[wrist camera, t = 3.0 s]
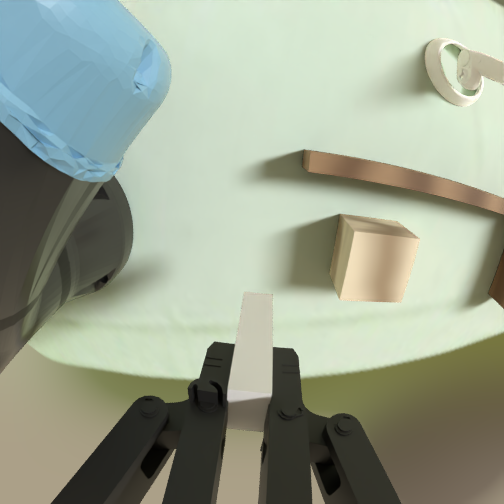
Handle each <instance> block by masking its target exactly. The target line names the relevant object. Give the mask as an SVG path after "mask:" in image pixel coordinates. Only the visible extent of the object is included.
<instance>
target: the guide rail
mask: <svg viewBox="0 0 504 504" xmlns="http://www.w3.org/2000/svg"><path fill="white" fill-rule="evenodd" d="M302 167H303V168H304V169H305V170H307V171H308V172H313V173H320V174H327V175H334V176H341V177H347V178H353V179H359V180H365V181H371V182H376V183H382V184H387V185H392V186H397V187H402V188H406V189H411V190H415V191H420V192H424V193H429V194H433V195H437V196H441V197H445V198H449V199H453V200H456V201H460V202H464V203H467V204H471V205H474V206H478V207H481V208H485V209H488V210H491V211H494V212H497V213H501V214H504V198H502V197H499V196H496V195H494V194H491V193H488V192H485V191H482V190H480V189H477V188H474V187H471V186H468V185H464V184H461V183H458V182H455V181H452V180H448V179H445V178H441V177H438V176H434V175H431V174H427V173H423V172H419V171H415V170H411V169H407V168H403V167H399V166H394V165H390V164H385V163H381V162H376V161H371V160H366V159H361V158H355V157H350V156H344V155H338V154H331V153H325V152H318V151H311V150H304V153H303V162H302ZM488 294H489V295H490V296H491V297H492V298H493V299H494V300H495V301H496V302H497V303H498V304H499V305H500V306H501V307H502V308H503V309H504V251H503V254H502V257H501V260H500V263H499V266H498V269H497V272H496V274H495V277H494V280H493V282H492V285H491V287H490V290H489V292H488Z"/></svg>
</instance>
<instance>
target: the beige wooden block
mask: <svg viewBox="0 0 504 504" xmlns="http://www.w3.org/2000/svg"><path fill="white" fill-rule="evenodd" d="M419 241H420V239H419V238H418V237H417V236H415V235H414V234H413V233H412V232H410V231H409V230H408V229H407V228H405V227H404V226H403V225H401V224H400V223H399V222H397V221H392V220H384V219H377V218H369V217H361V216H353V215H345V214H340V215H339V222H338V228H337V234H336V240H335V245H334V251H333V256H332V261H331V267H330V272H329V274H330V277H331V279H332V282H333V284H334V287H335V290H336V292H337V295H338V297H339V300H347V301H371V302H401V301H402V298H403V295H404V292H405V289H406V286H407V283H408V280H409V277H410V274H411V270H412V267H413V263H414V260H415V256H416V253H417V249H418V245H419Z"/></svg>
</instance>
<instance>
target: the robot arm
mask: <svg viewBox="0 0 504 504" xmlns="http://www.w3.org/2000/svg"><path fill="white" fill-rule="evenodd" d="M170 83H171V64H170V61H169V57H168V55H167V53H166V51H165V50H164V49H163V47H162V46H161V45H160V43H159V42H158V41H157V40H156V39H155V38H154V37H153V35H152V34H151V33H150V32H149V31H148V30H147V29H146V28H145V27H144V26H143V25H142V24H141V23H140V22H139V21H138V20H137V19H136V18H135V17H134V16H133V15H132V14H131V13H130V12H129V11H128V10H127V9H126V8H125V7H124V6H123V5H122V4H121V3H120V2H119V1H118V0H0V373H1V372H2V371H3V370H4V369H5V367H6V366H7V365H8V364H9V362H10V361H11V360H12V359H13V358H14V357H15V355H16V354H17V353H18V352H19V351H20V349H22V347H23V346H24V345H25V344H26V343H27V342H28V341H29V340H30V338H31V337H32V336H33V335H34V334H35V333H36V332H37V331H38V330H39V329H40V328H41V327H42V326H43V324H44V323H45V322H46V321H47V320H48V319H49V318H50V317H51V316H52V315H53V314H54V313H55V312H56V311H57V310H58V309H59V308H60V307H61V306H62V305H63V304H64V303H65V302H68V301H70V300H73V299H76V298H79V297H81V296H84V295H87V294H90V293H92V292H95V291H98V290H100V289H102V288H103V287H105V286H106V285H108V284H109V283H110V282H111V281H112V280H113V279H114V278H115V277H116V276H117V275H118V274H119V273H120V272H121V270H122V269H123V268H124V266H125V264H126V263H127V261H128V258H129V255H130V252H131V248H132V242H133V222H132V215H131V211H130V207H129V204H128V201H127V198H126V196H125V193H124V191H123V189H122V187H121V186H120V184H119V182H118V181H117V179H116V178H115V177H114V175H115V173H116V172H117V170H118V169H119V168H120V167H121V165H122V162H123V156H124V153H125V152H126V150H127V149H128V147H129V146H130V145H131V143H132V142H133V140H134V139H135V138H136V136H137V135H138V134H139V132H140V131H141V130H142V128H143V127H144V126H145V124H146V123H147V122H148V120H149V119H150V118H151V117H152V115H153V114H154V113H155V112H156V110H157V109H158V108H159V107H160V105H161V104H162V102H163V101H164V99H165V97H166V95H167V93H168V90H169V87H170ZM188 395H189V399H188V400H185V401H182V402H176V403H165V402H164V401H163V400H161V399H160V398H159V397H155V396H144V397H141V398H139V399H137V400H136V401H135V402H134V403H133V404H132V406H131V407H130V408H129V409H128V410H127V412H126V413H125V414H124V415H123V417H122V418H121V419H120V420H119V421H118V423H117V424H116V425H115V426H114V427H113V429H112V430H111V431H110V432H109V434H108V435H107V436H106V437H105V439H104V440H103V441H102V442H101V443H100V445H99V446H98V447H97V448H96V449H95V451H94V452H93V453H92V454H91V456H90V457H89V458H88V459H87V460H86V462H85V463H84V464H83V465H82V466H81V468H80V469H79V470H78V471H77V473H76V474H75V475H74V476H73V477H72V479H71V480H70V481H69V482H68V483H67V485H66V486H65V487H64V488H63V489H62V491H61V492H60V493H59V494H58V496H57V497H56V498H55V499H54V500H53V502H52V503H51V504H140V502H141V501H142V499H143V498H144V496H145V494H146V493H147V492H148V490H149V489H150V487H151V485H152V484H153V482H154V481H155V479H156V478H157V476H158V475H159V473H160V471H161V470H162V468H163V467H164V465H165V464H166V462H167V460H168V459H169V457H170V456H171V454H172V452H173V451H174V449H176V453H175V456H174V460H173V464H172V468H171V471H170V475H169V479H168V483H167V487H166V491H165V494H164V498H163V502H162V504H216V500H217V493H218V487H219V480H220V473H221V467H222V459H223V453H224V446H225V437H226V435H225V434H226V428H228V429H237V430H247V431H259V432H263V431H264V438H263V442H262V446H261V450H260V451H262V453H261V471H260V485H259V500H258V504H312V487H311V469H310V468H311V467H310V464H311V466H312V469H313V472H314V475H315V477H316V480H317V483H318V486H319V488H320V491H321V494H322V496H323V499H324V502H325V504H401V502H400V500H399V498H398V496H397V494H396V492H395V490H394V488H393V486H392V484H391V482H390V480H389V478H388V476H387V474H386V472H385V470H384V468H383V466H382V464H381V462H380V460H379V458H378V457H377V455H376V453H375V451H374V449H373V447H372V445H371V443H370V441H369V439H368V437H367V436H366V434H365V432H364V430H363V428H362V426H361V424H360V422H359V421H358V420H357V419H356V418H355V417H353V416H352V415H349V414H345V413H341V414H336V415H334V416H332V417H331V418H327V417H323V416H319V415H316V414H313V413H312V412H310V411H309V410H308V409H307V408H306V407H305V406H304V404H303V401H302V393H301V380H300V369H299V358H298V355H297V354H296V352H295V351H294V349H292V348H278V347H273V294H262V293H252V292H244V296H243V302H242V307H241V313H240V319H239V325H238V331H237V337H236V342H235V344H229V343H221V342H214V343H213V344H212V345H211V346H210V347H209V348H208V349H207V353H206V356H205V360H204V364H203V367H202V371H201V374H200V378H199V379H196V380H194V381H193V382H191V383H190V385H189V387H188Z"/></svg>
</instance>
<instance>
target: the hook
mask: <svg viewBox="0 0 504 504" xmlns="http://www.w3.org/2000/svg"><path fill="white" fill-rule="evenodd" d="M448 44H453V45H455V46H457V47H458V48H459V49H460V50H461V52H460V54H459V56H458V60H457V80H458V82H459V83H460V84H461V85H462V86H463V87H464V88H465V89H468V90H475V89H477V90H476V93H475V95H474V96H465V95H463V94H461V93H459V92H458V91H456V90H455V89H454V88H453V87H452V85H451V84H450V83H449V81H448V80H447V78H446V76H445V74H444V72H443V69H442V66H441V52H442V49H443V48H444V47H445V46H446V45H448ZM425 65H426V70H427V72H428V75H429V78H430V80H431V82H432V83H433V85H434V87H435V88H436V90H437V91H438V92H439V93H440V94H441V95H442V96H443V97H444V98H445V99H446V100H447V101H449V102H450V103H452V104H454V105H457V106H461V107H465V106H469V105H471V104H473V103H474V102H475V101H476V100H477V99H478V98H479V96H480V95H481V93H482V91H483V86H484V78H483V76H485V77H486V78H489V79H491V80H493V81H496V82H498V83H500V84H502V85H504V62H503V61H501V60H499V59H496V58H494V57H492V56H489V55H487V54H484V53H481V52H478V51H473V50H469V49H468V48H467V47H465V46H464V45H463V44H461V43H459V42H457V41H454V40H451V39H447V38H437V39H434V40H432V41H431V42H430V43H429V44H428V45H427V48H426V50H425Z"/></svg>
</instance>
